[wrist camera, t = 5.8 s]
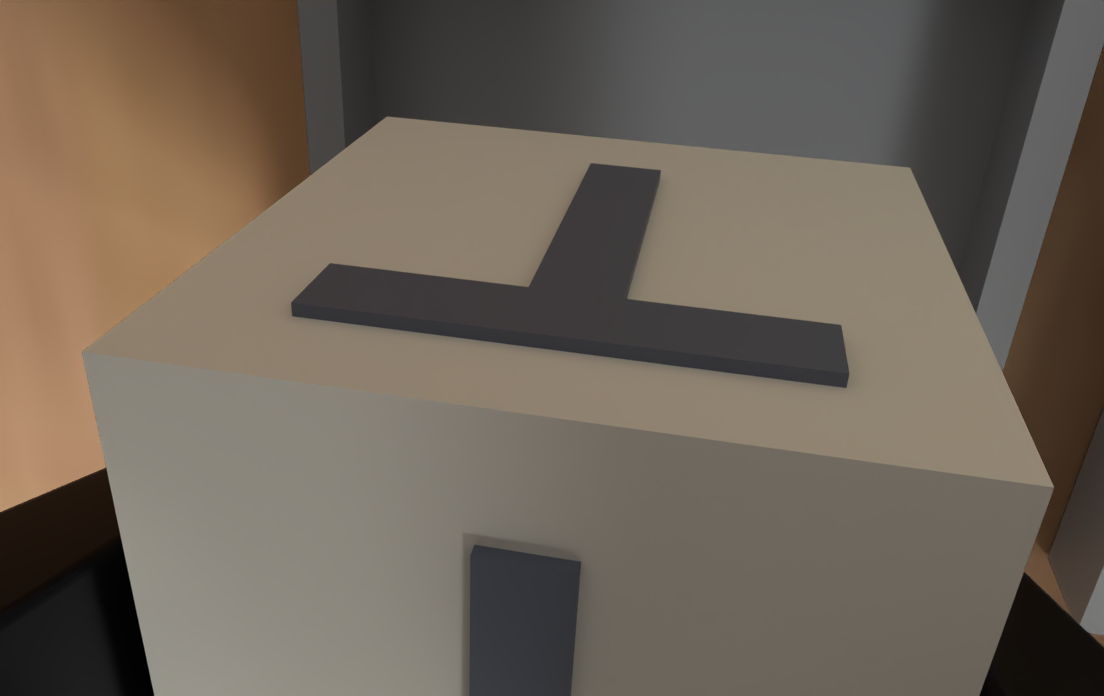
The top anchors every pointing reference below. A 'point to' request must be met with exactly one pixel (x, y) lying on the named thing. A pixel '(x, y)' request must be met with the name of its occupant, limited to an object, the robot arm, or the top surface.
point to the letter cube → (569, 432)
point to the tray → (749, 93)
